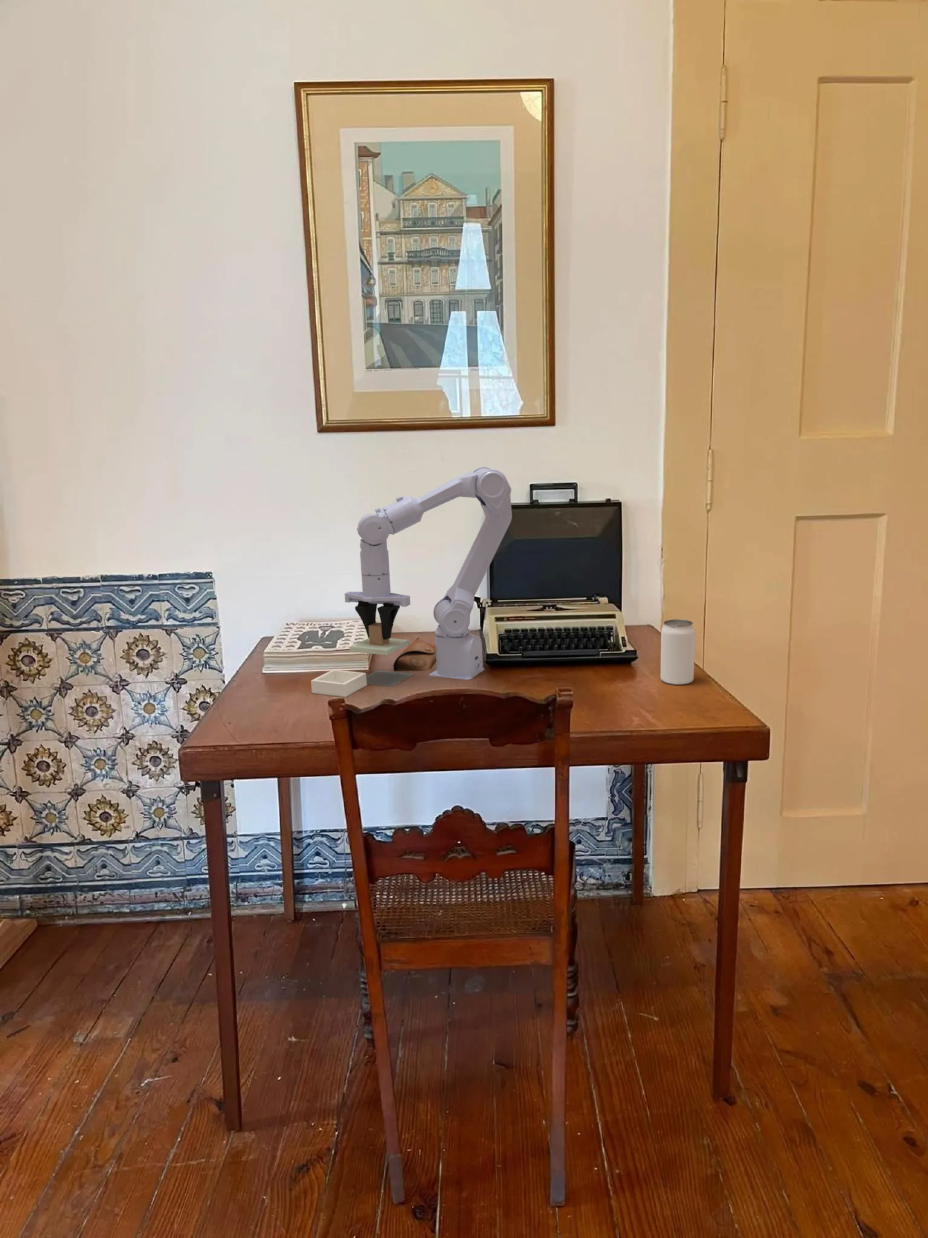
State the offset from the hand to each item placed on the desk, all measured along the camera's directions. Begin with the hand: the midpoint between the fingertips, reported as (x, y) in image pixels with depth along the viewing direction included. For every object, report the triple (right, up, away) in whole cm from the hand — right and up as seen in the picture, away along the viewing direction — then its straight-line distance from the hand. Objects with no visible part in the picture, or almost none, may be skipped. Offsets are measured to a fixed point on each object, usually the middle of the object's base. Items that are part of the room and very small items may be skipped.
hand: (379, 637), depth 181 cm
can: (+60, -9, -5) cm, 61 cm away
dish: (-8, -11, -4) cm, 14 cm away
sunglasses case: (+8, -6, +15) cm, 18 cm away
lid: (0, -2, 0) cm, 2 cm away
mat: (+1, -9, +3) cm, 9 cm away
